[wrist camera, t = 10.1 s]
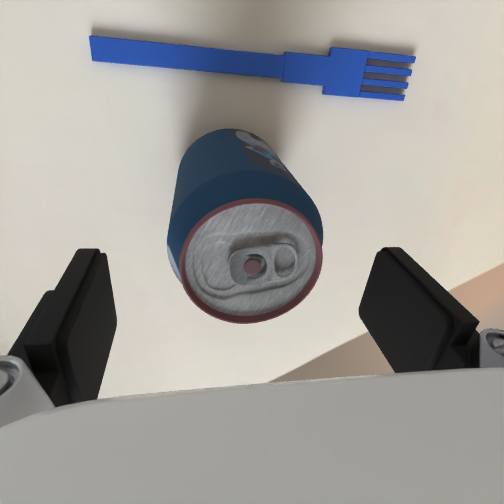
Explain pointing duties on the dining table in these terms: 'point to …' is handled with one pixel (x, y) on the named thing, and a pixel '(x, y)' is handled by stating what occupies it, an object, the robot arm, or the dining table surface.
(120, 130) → the dining table surface
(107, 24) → the dining table surface
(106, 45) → the blue fork
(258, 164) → the soda can
